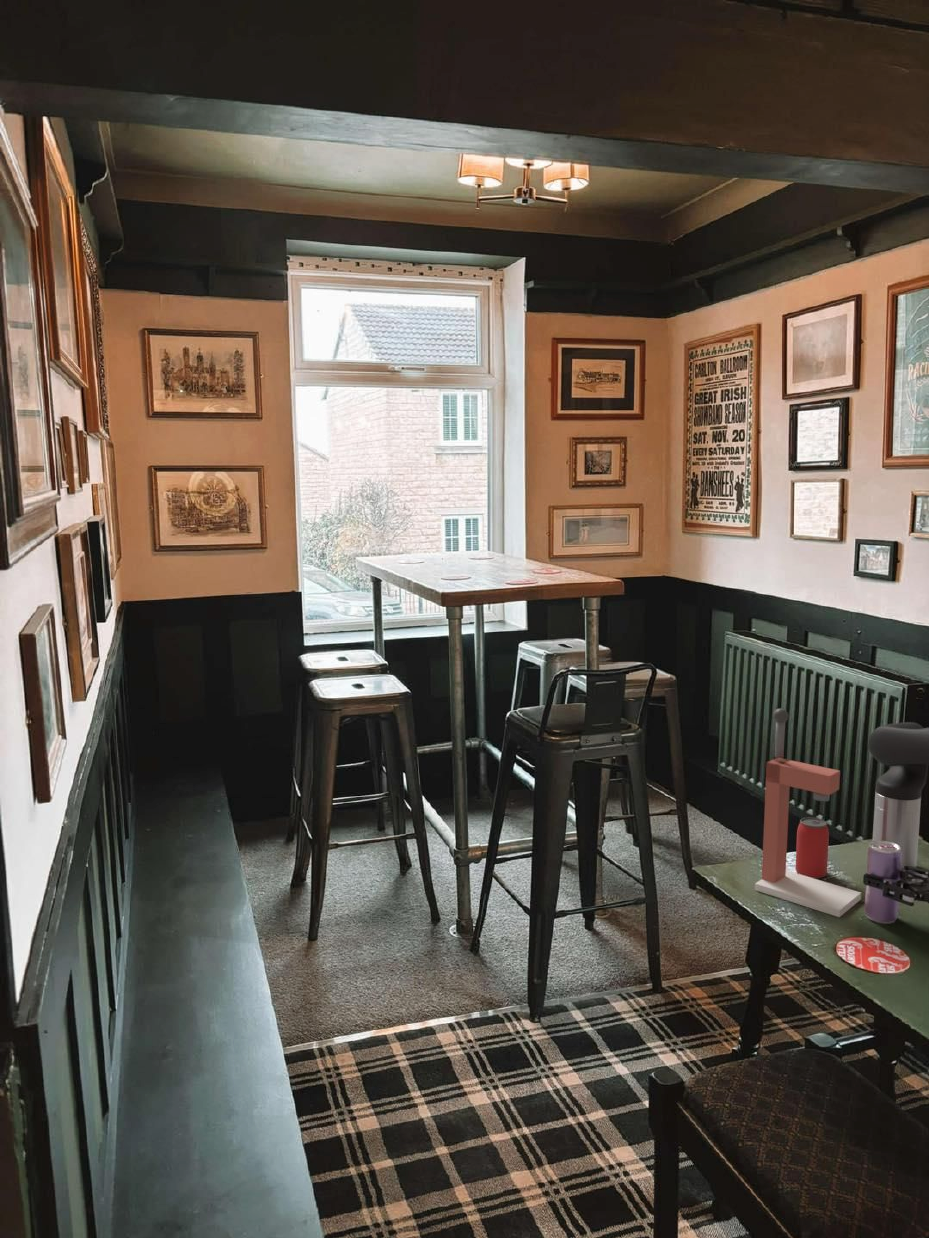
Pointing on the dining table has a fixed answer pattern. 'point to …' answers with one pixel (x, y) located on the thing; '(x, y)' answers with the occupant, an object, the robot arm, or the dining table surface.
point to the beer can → (812, 847)
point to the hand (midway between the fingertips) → (870, 873)
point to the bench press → (776, 830)
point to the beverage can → (886, 865)
